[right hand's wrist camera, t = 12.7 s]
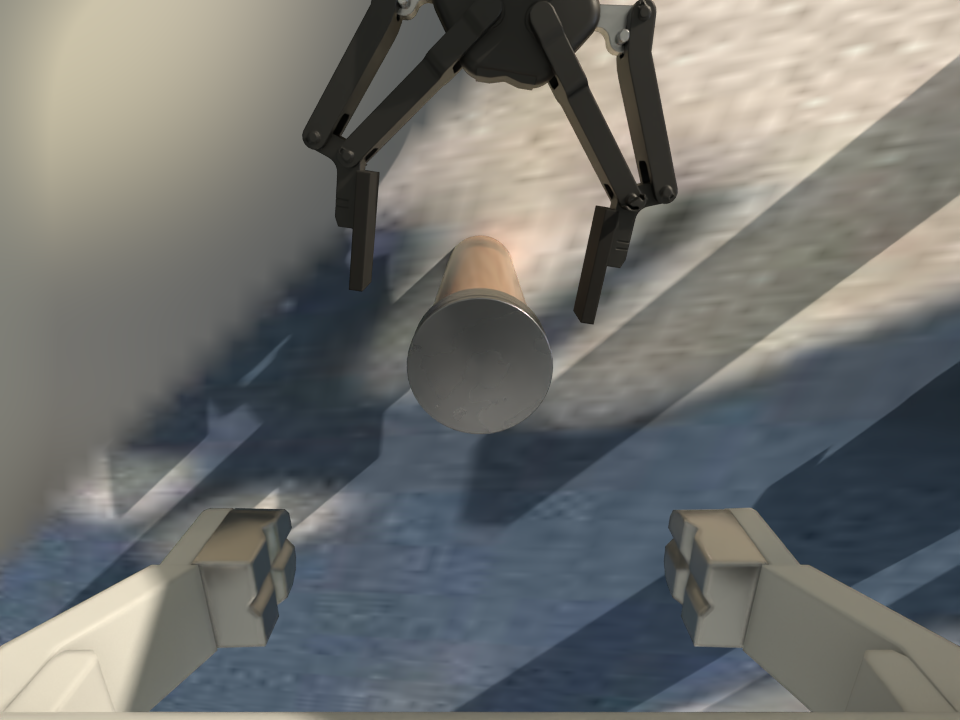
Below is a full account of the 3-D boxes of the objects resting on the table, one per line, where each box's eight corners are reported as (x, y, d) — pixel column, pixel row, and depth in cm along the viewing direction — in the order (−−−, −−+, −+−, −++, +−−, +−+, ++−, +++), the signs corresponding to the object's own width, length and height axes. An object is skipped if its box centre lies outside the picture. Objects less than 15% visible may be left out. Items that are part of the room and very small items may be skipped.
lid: (436, 429, 22) (432, 449, 20) (393, 309, 20) (386, 321, 18) (561, 396, 21) (567, 414, 20) (528, 270, 19) (533, 279, 18)
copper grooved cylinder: (458, 307, 38) (439, 434, 20) (439, 246, 37) (399, 323, 19) (519, 290, 38) (555, 404, 20) (503, 227, 36) (525, 288, 18)
